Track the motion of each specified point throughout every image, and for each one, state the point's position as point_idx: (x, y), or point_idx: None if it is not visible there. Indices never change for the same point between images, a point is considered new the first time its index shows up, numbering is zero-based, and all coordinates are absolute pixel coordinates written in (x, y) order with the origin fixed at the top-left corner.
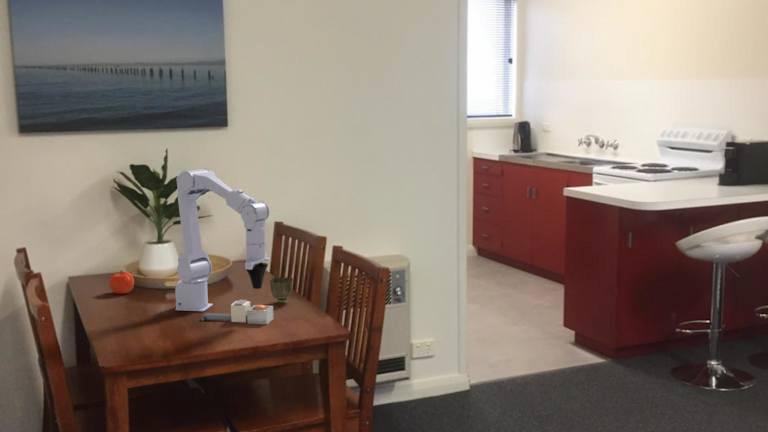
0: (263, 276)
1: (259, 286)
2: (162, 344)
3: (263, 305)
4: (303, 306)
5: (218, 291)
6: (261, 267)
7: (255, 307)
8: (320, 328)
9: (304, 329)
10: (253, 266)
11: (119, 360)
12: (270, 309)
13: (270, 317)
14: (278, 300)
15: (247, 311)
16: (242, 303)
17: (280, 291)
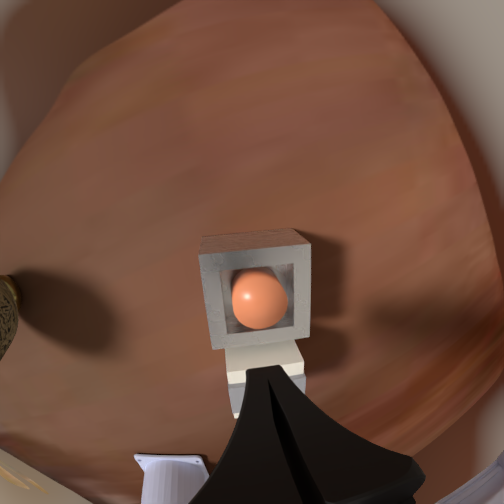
0: (244, 426)
1: (287, 377)
2: (449, 383)
3: (244, 294)
4: (13, 193)
5: (42, 453)
6: (414, 484)
7: (279, 318)
8: (296, 8)
9: (324, 57)
10: (444, 501)
11: (492, 376)
12: (244, 247)
13: (245, 236)
14: (16, 304)
15: (308, 332)
16: (295, 378)
17: (1, 308)
